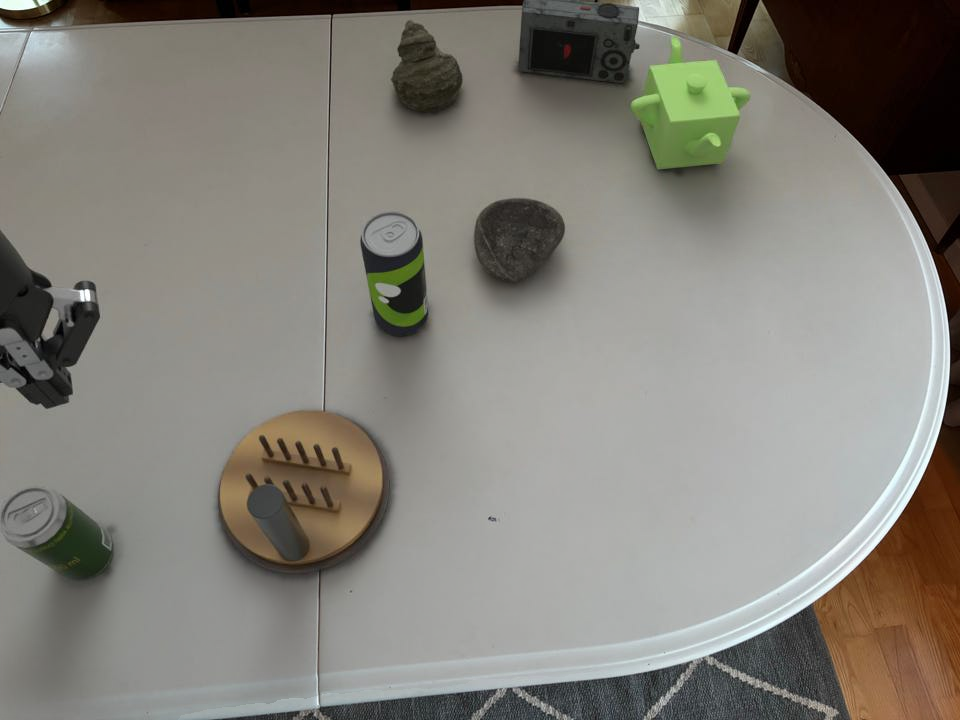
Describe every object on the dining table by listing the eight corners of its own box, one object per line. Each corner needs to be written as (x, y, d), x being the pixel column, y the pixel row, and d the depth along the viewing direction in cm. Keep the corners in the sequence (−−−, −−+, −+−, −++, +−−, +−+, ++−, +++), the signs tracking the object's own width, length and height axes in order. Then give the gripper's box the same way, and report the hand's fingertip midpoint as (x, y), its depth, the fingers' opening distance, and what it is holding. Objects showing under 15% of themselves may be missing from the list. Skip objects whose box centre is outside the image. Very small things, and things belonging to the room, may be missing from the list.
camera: (634, 67, 114) (647, 5, 105) (632, 86, 112) (645, 24, 103) (521, 54, 115) (525, -9, 106) (517, 72, 113) (521, 10, 104)
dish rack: (361, 578, 75) (341, 533, 63) (199, 549, 76) (151, 500, 65) (398, 427, 83) (387, 364, 71) (251, 403, 84) (217, 337, 73)
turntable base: (239, 599, 75) (236, 596, 74) (207, 444, 83) (203, 440, 82) (410, 539, 78) (409, 535, 77) (363, 396, 86) (362, 390, 85)
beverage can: (400, 285, 94) (389, 199, 81) (439, 314, 92) (434, 230, 79) (363, 318, 91) (345, 235, 78) (402, 349, 89) (391, 268, 76)
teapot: (658, 92, 111) (675, 26, 102) (746, 130, 107) (772, 65, 98) (606, 158, 104) (619, 94, 95) (699, 201, 101) (721, 138, 92)
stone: (561, 293, 93) (566, 268, 89) (471, 289, 93) (471, 263, 89) (561, 220, 99) (565, 192, 95) (476, 216, 99) (476, 188, 95)
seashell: (466, 20, 109) (394, 16, 109) (464, 26, 99) (384, 22, 98) (464, 105, 114) (394, 102, 114) (461, 119, 104) (385, 116, 103)
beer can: (103, 517, 79) (47, 471, 69) (125, 561, 77) (71, 519, 66) (50, 548, 77) (-15, 505, 67) (71, 593, 75) (7, 556, 65)
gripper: (-243, 331, 38) (-40, 472, 53) (46, 256, 40) (161, 411, 55) (-231, 217, 41) (-44, 379, 56) (34, 154, 44) (146, 326, 58)
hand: (58, 394), depth 55 cm, fingers closed
